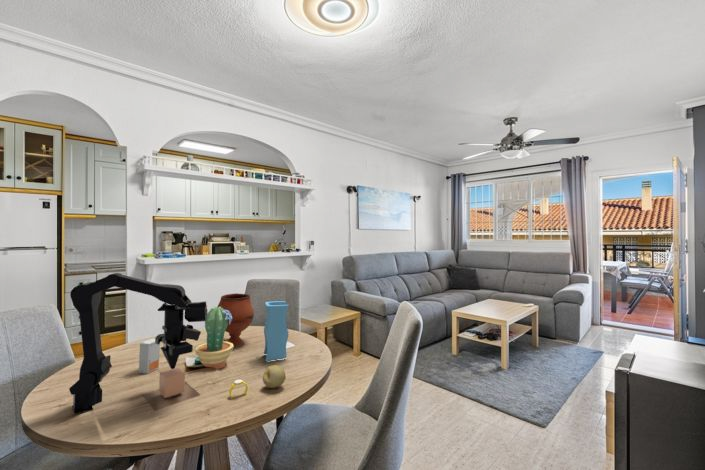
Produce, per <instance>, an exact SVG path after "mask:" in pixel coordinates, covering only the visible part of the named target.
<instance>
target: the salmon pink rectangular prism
mask: <svg viewBox="0 0 705 470" xmlns="http://www.w3.org/2000/svg"><path fill="white" fill-rule="evenodd" d="M185 378H186V372H185V371H184V370H182V369H181V367H175V368H174V369H171V368H170V369H167V370H163V371H160V372H159V383H158V384H159V385H158V386H159V388H158V390H159V392H160V393H161V394H162V395H163V397H164V398H166V397H170V396H173V395H176V394H179V393H182V392H184V385H185V382H186V381H185Z"/></svg>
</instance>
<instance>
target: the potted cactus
mask: <svg viewBox="0 0 705 470" xmlns="http://www.w3.org/2000/svg"><path fill="white" fill-rule="evenodd" d="M217 307H218V306H214V307H211V308H210V309H209V311H207V320H206V321H204V328H205V331H206V342H205V343H202V344H200V345H198V346H196V347H195V355H197V357H198V359H199V362H200V363H201V364H202V366H203V367H205V368H214V369H216V370H218V369H221V368H224V367H225V366H226V362H227V360H228V359H229V358H230V355H231V352H232V351H233V350H234V346H233V343H230V342H227V341H224V339H225V334H226V331H225V330H226V328H227V324H228V319H229V324H230V323H231V321H232V315H231V313H230V312H229V311H228V310H223V308H221V307H218V308H217Z"/></svg>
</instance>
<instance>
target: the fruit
mask: <svg viewBox="0 0 705 470" xmlns="http://www.w3.org/2000/svg"><path fill="white" fill-rule="evenodd" d="M262 375H263V376H262V382H263V384H264V385H265V386H266V387H267V388H270V389H277V388H279V387H281V386H282V385H283V384H284V382H285V380H286V376H287V375H286V372H285V370H284V369H283V367H281V366H280V365H270V366H268V367H267V368H266V369H265V370H264V372H263V374H262Z"/></svg>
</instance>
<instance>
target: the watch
mask: <svg viewBox="0 0 705 470" xmlns="http://www.w3.org/2000/svg"><path fill="white" fill-rule="evenodd" d="M240 385H244V386H245V391H244V392H243V394H244V395H247V393H248V391H249V389H248V388H249V387H248V385H247V383H246V382H245V381H244V380H242V379H236V380H234V382H233V383H232V384H231V385H230V386H229V390H228V395H229V397H230V398H231V399H233V395H232V390H233V388H234V387H235V386H240Z"/></svg>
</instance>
